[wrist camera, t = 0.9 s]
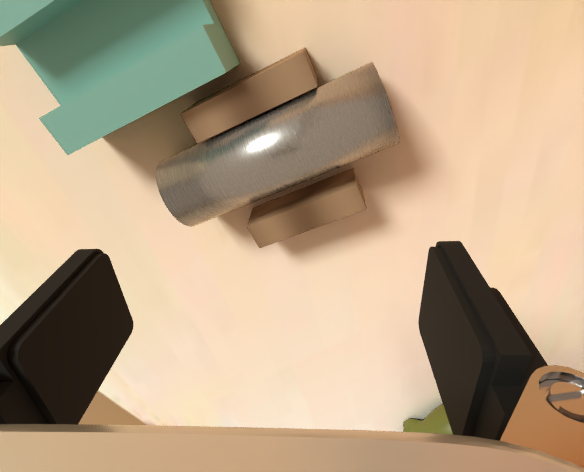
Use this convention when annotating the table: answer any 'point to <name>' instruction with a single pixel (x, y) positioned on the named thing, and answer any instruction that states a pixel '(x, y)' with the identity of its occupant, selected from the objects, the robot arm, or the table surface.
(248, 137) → the steel axle
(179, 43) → the teal V-block
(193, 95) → the table surface
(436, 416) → the pear
